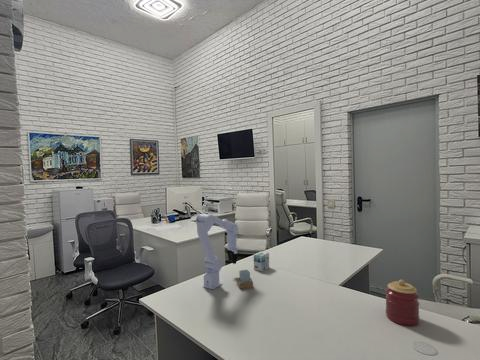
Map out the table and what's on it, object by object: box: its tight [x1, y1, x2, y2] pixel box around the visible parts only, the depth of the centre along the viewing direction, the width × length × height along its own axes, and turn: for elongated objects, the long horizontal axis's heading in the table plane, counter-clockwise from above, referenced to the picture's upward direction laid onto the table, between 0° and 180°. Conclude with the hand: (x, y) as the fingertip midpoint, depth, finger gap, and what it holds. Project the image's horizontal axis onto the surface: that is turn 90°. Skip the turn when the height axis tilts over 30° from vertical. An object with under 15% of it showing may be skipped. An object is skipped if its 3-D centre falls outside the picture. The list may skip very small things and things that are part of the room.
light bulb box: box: [253, 250, 270, 272], centre depth 187 cm, size 11×7×11 cm, turn 143°
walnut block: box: [236, 277, 254, 290], centre depth 158 cm, size 8×8×4 cm
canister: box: [385, 279, 420, 327], centre depth 119 cm, size 13×13×18 cm
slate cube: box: [238, 269, 251, 282], centre depth 157 cm, size 5×5×5 cm
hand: (232, 261), depth 174 cm, fingers open, 7 cm apart
